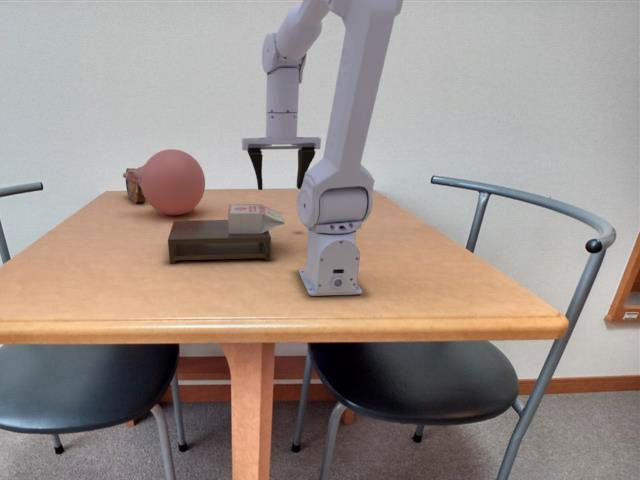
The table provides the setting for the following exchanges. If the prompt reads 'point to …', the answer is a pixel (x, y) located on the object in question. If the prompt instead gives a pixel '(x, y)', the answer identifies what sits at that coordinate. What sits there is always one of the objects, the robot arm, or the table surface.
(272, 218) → the milk carton
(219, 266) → the table surface
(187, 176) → the balloon
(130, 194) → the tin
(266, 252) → the dark brown low stand
